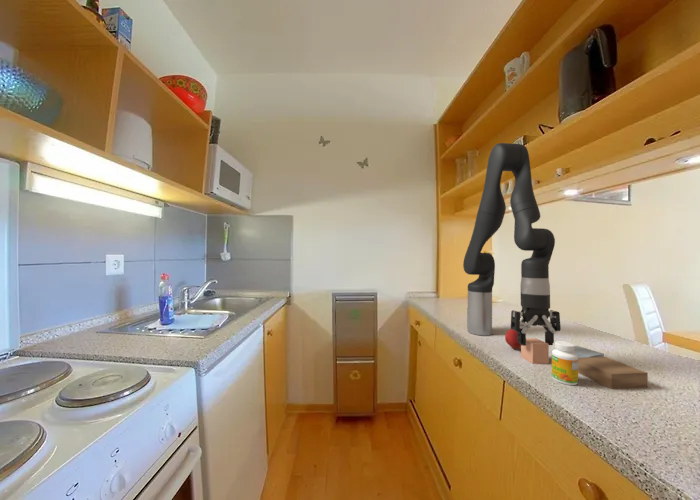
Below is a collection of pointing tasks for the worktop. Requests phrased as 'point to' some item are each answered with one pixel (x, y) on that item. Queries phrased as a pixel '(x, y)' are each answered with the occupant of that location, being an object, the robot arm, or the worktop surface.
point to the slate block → (586, 352)
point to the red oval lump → (512, 339)
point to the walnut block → (612, 373)
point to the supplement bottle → (565, 363)
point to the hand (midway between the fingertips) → (535, 344)
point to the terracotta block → (535, 351)
